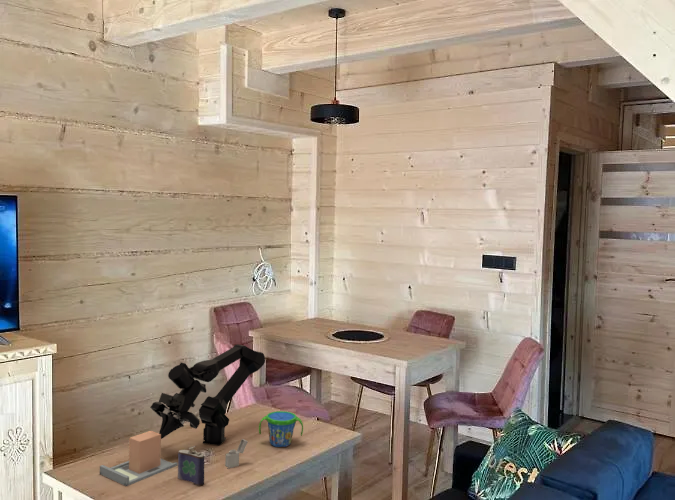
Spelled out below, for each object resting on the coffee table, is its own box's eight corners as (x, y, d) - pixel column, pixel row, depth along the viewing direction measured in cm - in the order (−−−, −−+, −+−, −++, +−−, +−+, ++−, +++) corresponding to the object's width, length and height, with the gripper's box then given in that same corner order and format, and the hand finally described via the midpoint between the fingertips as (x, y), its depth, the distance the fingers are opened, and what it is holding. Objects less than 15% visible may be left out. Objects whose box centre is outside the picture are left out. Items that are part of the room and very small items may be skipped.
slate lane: (151, 456, 199) (151, 447, 199) (177, 466, 191) (177, 457, 191) (99, 475, 183) (99, 465, 183) (126, 487, 176) (126, 477, 176)
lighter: (227, 468, 191) (228, 444, 191) (225, 467, 192) (225, 442, 192) (247, 463, 196) (247, 439, 195) (244, 461, 197) (245, 437, 196)
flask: (175, 480, 182) (176, 445, 181) (182, 476, 185) (183, 442, 184) (200, 487, 178) (201, 451, 177) (206, 483, 181) (207, 448, 180)
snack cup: (304, 439, 218) (305, 412, 217) (300, 451, 207) (301, 422, 207) (261, 437, 219) (262, 409, 218) (255, 448, 208) (256, 419, 208)
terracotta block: (150, 461, 194) (150, 430, 193) (160, 465, 191) (161, 434, 190) (128, 469, 187) (129, 437, 186) (139, 473, 184) (139, 441, 184)
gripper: (155, 377, 202) (126, 418, 193) (193, 388, 191) (164, 432, 183) (173, 395, 209) (146, 435, 200) (211, 407, 198) (184, 450, 189)
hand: (159, 437), depth 193 cm, fingers closed
